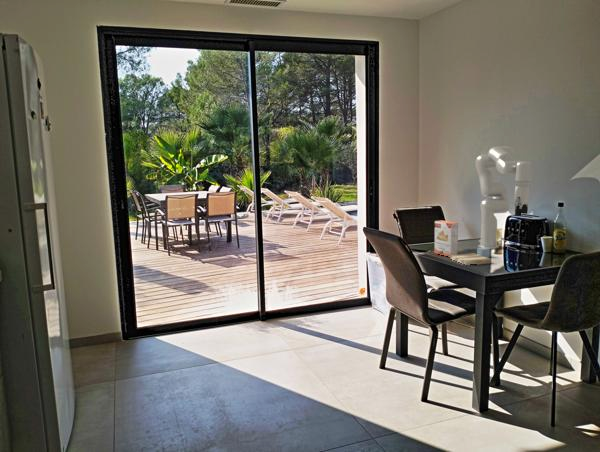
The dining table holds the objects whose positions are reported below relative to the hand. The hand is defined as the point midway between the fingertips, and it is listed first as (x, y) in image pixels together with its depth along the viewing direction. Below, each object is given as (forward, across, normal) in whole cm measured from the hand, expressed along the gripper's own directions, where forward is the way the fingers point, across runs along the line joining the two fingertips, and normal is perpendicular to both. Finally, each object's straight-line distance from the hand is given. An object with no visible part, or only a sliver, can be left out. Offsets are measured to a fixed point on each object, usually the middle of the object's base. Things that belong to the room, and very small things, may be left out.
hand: (521, 214), depth 272 cm
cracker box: (+27, +13, -39) cm, 49 cm away
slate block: (+27, +2, -20) cm, 33 cm away
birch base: (+26, +19, -21) cm, 38 cm away
